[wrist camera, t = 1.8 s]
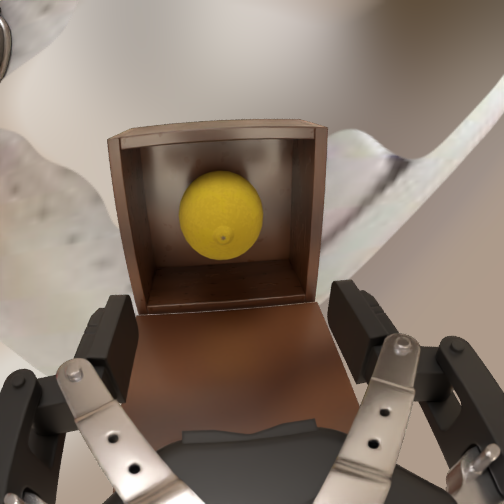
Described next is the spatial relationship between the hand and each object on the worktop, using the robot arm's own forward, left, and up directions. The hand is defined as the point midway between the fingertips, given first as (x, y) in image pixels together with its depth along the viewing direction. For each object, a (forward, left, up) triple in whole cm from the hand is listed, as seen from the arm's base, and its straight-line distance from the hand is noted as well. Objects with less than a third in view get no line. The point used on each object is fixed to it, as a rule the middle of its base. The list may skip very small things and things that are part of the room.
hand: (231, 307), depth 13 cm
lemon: (0, 0, -14) cm, 14 cm away
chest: (0, 0, -15) cm, 15 cm away
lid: (+7, 0, -1) cm, 7 cm away
